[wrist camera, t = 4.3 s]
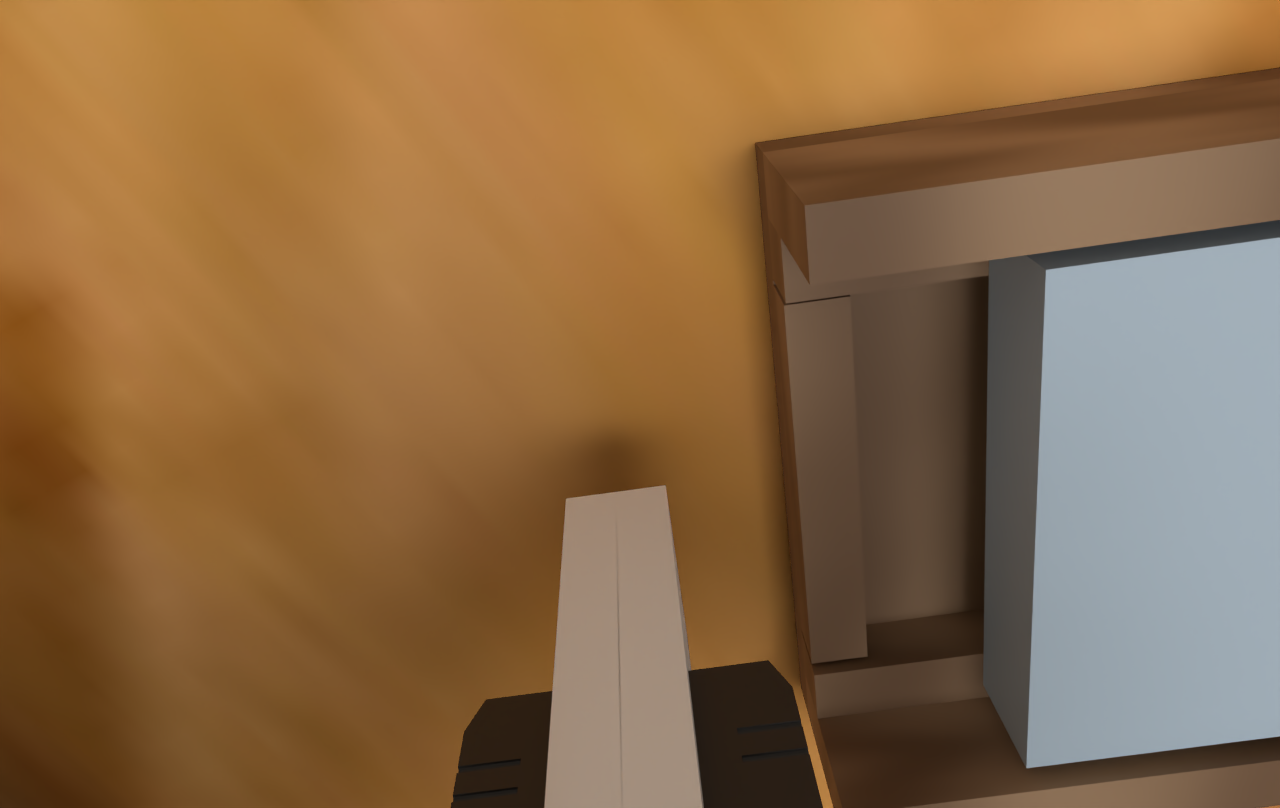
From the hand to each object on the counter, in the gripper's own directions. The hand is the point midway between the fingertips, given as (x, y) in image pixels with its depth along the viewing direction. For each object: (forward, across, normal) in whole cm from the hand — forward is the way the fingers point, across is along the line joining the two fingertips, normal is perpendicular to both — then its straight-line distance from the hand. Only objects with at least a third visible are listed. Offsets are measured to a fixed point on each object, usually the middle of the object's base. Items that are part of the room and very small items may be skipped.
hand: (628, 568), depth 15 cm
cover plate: (+1, +11, 0) cm, 11 cm away
